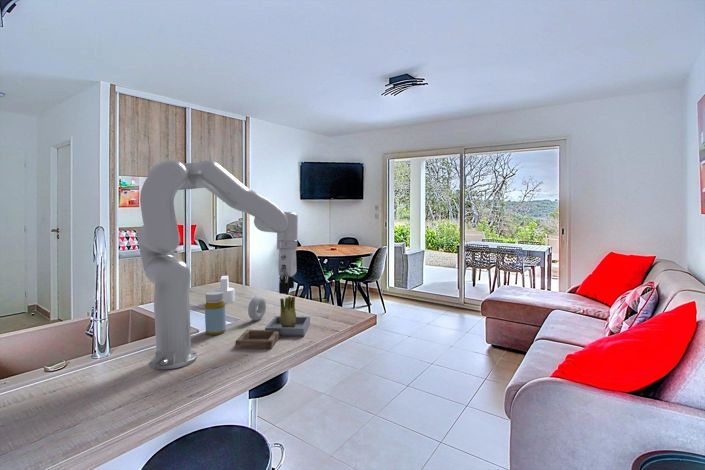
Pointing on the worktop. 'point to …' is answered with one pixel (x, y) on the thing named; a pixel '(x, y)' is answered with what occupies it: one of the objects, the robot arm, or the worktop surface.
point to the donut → (252, 309)
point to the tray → (297, 331)
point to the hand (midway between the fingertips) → (286, 290)
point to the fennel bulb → (288, 312)
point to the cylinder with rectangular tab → (226, 290)
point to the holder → (258, 344)
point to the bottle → (215, 313)
